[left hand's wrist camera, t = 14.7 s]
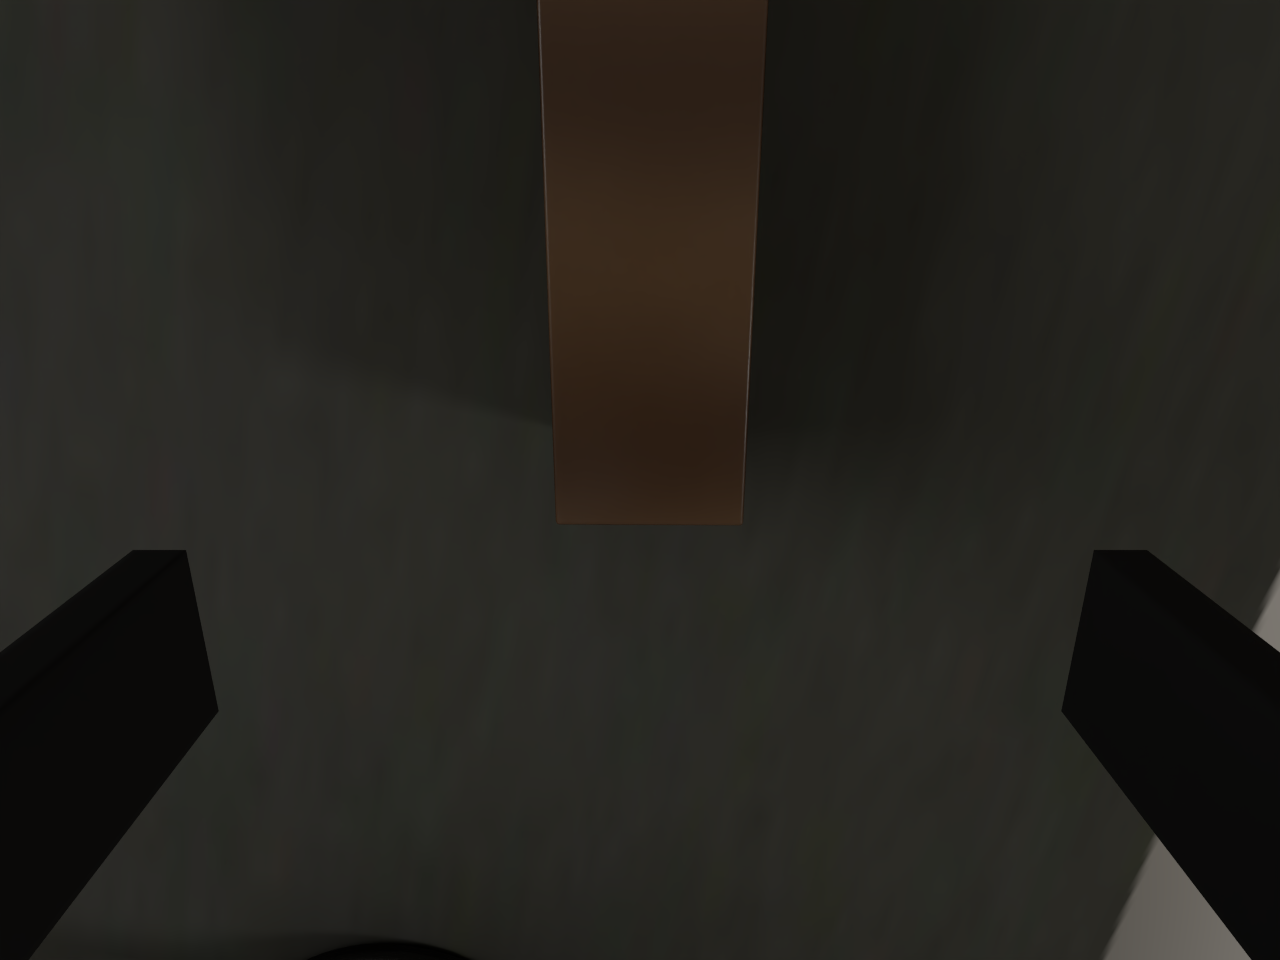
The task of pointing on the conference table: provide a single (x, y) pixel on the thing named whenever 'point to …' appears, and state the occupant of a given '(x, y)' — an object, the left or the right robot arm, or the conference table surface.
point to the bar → (651, 252)
